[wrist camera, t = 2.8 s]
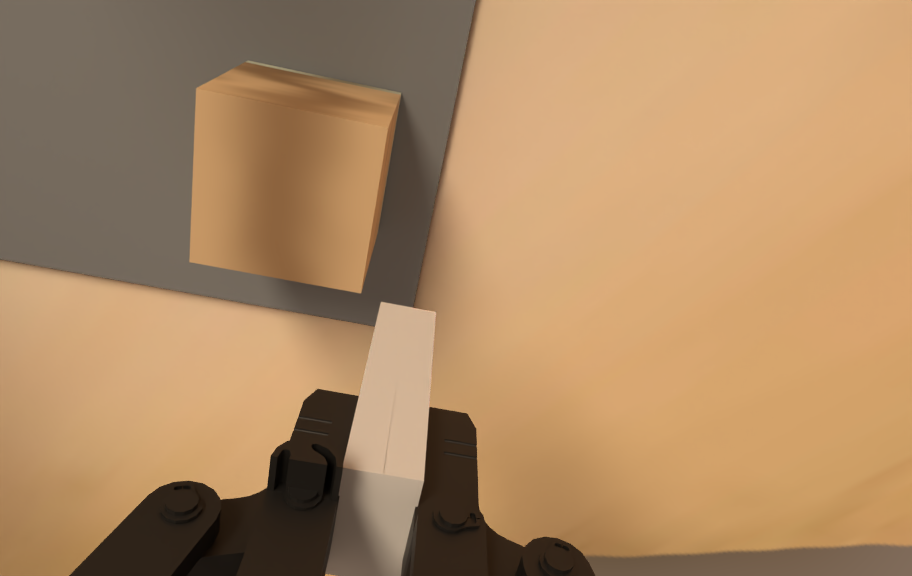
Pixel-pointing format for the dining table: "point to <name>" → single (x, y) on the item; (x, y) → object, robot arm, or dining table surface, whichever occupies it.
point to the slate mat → (173, 123)
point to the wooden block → (290, 174)
